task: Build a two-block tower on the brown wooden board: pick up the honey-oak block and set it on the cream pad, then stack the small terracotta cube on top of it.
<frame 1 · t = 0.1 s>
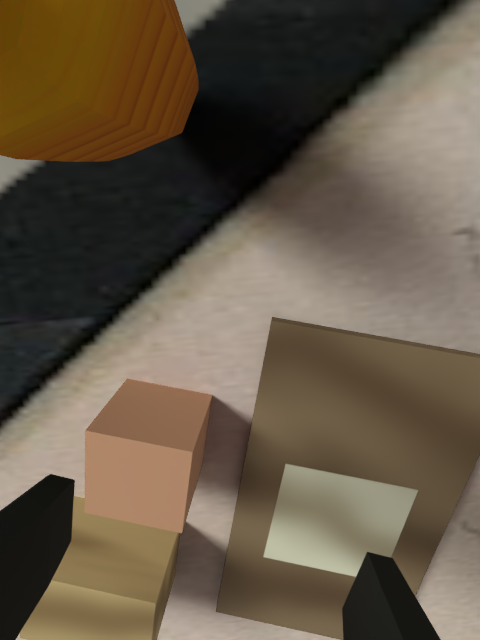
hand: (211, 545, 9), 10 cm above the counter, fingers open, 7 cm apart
terracotta cube: (166, 422, 20), on the counter
carrot: (172, 106, 15), on the counter
brown wooden board: (338, 504, 21), on the counter
oak block: (123, 535, 24), on the counter
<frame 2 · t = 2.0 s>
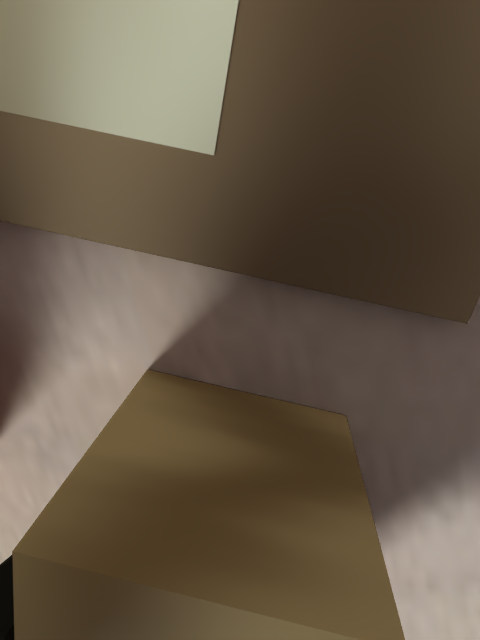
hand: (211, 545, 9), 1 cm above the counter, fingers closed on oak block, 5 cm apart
oak block: (220, 499, 11), on the counter, touching gripper
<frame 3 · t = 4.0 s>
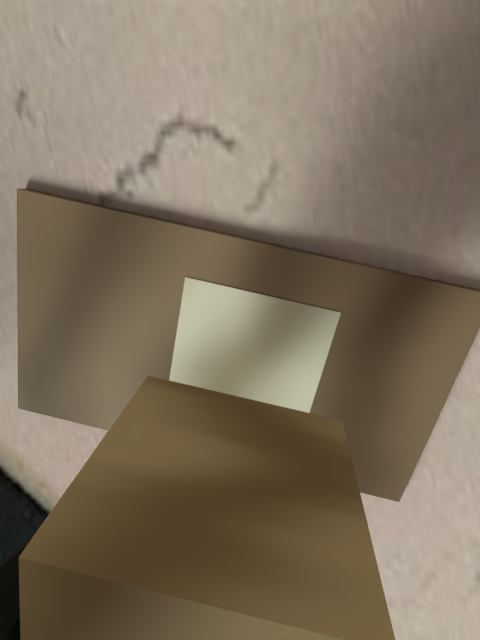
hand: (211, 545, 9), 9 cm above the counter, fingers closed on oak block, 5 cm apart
brown wooden board: (226, 354, 18), on the counter
oak block: (220, 502, 11), point 8 cm above the counter, touching gripper
when the fingers open (3 cm above the counter, at t = 5.8 s): oak block stays where it is, resting on brown wooden board.
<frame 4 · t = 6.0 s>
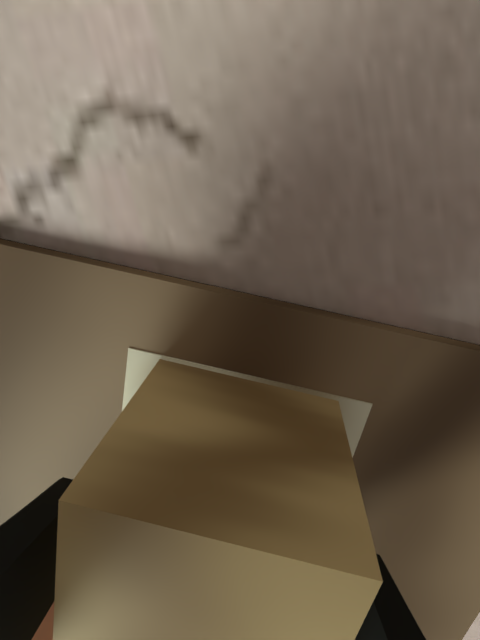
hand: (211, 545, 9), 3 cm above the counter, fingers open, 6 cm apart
terracotta cube: (91, 625, 16), on the counter
brown wooden board: (198, 453, 12), on the counter
oak block: (224, 478, 12), point 1 cm above the counter, touching brown wooden board
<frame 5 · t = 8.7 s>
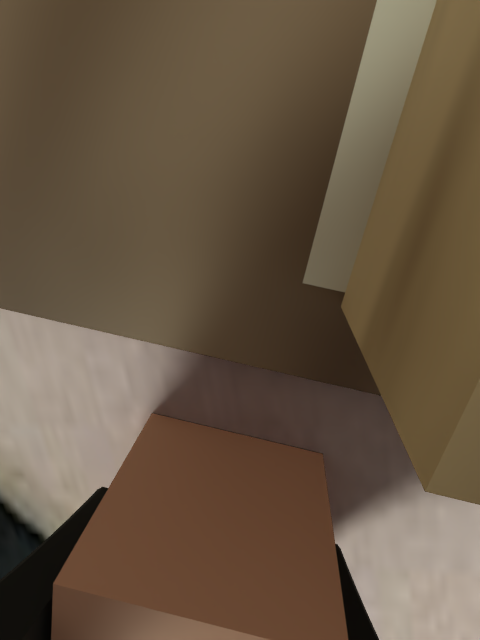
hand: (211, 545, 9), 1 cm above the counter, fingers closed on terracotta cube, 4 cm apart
terracotta cube: (221, 499, 11), on the counter, touching gripper
brown wooden board: (477, 126, 7), on the counter
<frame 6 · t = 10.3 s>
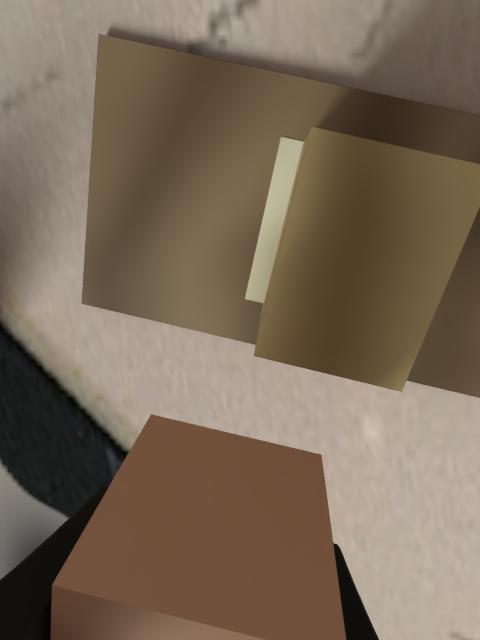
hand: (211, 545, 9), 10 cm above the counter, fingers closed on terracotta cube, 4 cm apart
terracotta cube: (220, 500, 11), point 9 cm above the counter, touching gripper
brown wooden board: (316, 234, 17), on the counter
oak block: (338, 246, 16), point 1 cm above the counter, touching brown wooden board
when the fingers open (8 cm above the counter, at t = 11.7 s): terracotta cube drops 1 cm, resting on oak block.
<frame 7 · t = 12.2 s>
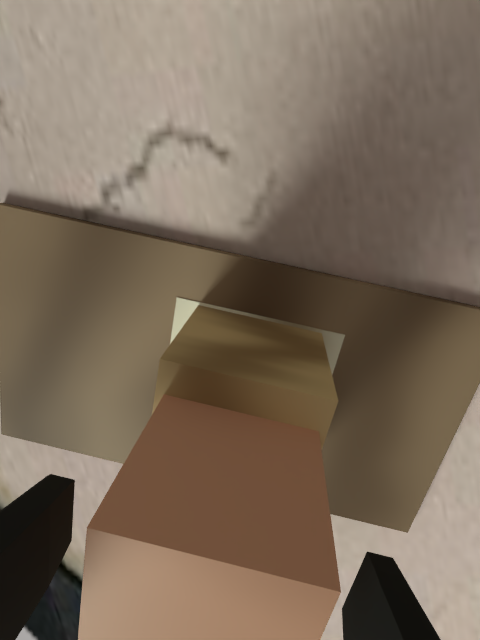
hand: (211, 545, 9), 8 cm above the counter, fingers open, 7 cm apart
terracotta cube: (226, 474, 12), point 6 cm above the counter, touching oak block
brown wooden board: (222, 378, 17), on the counter
oak block: (242, 393, 16), point 1 cm above the counter, touching brown wooden board, terracotta cube
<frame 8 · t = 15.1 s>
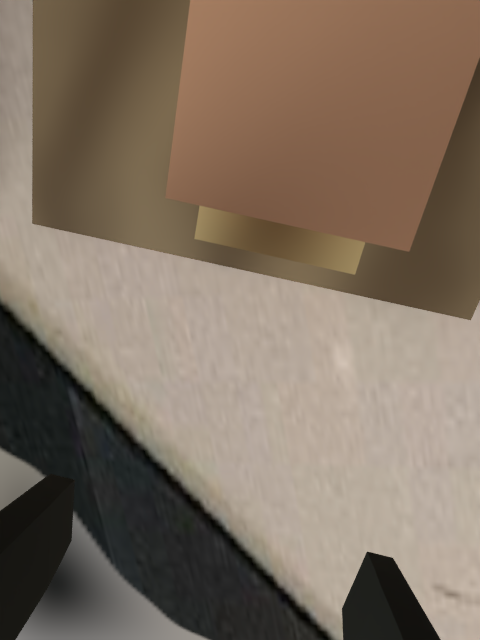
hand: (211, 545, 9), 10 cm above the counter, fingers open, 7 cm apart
terracotta cube: (305, 124, 10), point 6 cm above the counter, touching oak block
brown wooden board: (274, 138, 16), on the counter
oak block: (297, 147, 15), point 1 cm above the counter, touching brown wooden board, terracotta cube
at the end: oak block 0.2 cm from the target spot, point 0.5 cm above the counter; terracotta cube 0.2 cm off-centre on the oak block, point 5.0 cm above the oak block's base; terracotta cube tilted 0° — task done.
